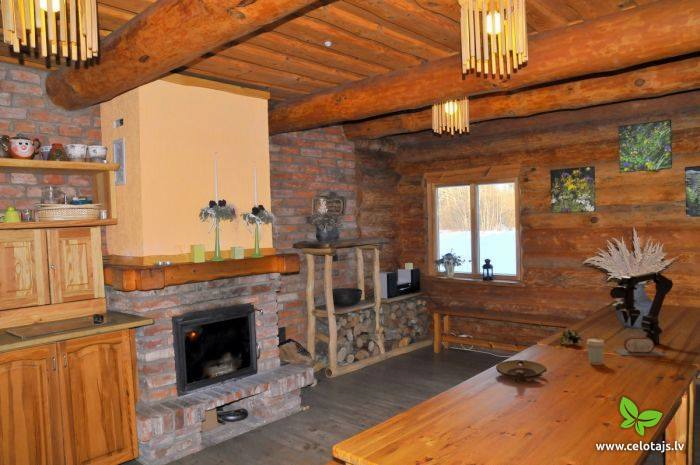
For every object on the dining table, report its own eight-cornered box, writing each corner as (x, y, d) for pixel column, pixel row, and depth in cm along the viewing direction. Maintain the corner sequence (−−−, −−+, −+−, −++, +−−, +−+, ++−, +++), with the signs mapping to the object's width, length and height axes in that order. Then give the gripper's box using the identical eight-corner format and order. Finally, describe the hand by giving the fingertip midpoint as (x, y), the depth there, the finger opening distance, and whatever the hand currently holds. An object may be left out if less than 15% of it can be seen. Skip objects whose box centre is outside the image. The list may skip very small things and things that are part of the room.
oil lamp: (554, 375, 246) (554, 359, 246) (529, 391, 224) (529, 373, 224) (509, 367, 261) (509, 352, 261) (481, 382, 238) (481, 365, 238)
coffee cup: (607, 366, 259) (607, 342, 259) (588, 365, 261) (588, 341, 261) (602, 361, 268) (602, 338, 268) (584, 361, 269) (584, 338, 269)
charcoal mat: (655, 350, 287) (655, 349, 287) (665, 356, 275) (665, 355, 275) (613, 350, 290) (613, 349, 290) (621, 355, 279) (621, 354, 279)
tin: (652, 351, 283) (652, 336, 283) (655, 353, 280) (655, 337, 280) (623, 351, 285) (623, 336, 285) (625, 352, 282) (625, 337, 282)
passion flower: (574, 353, 307) (587, 338, 303) (567, 353, 299) (580, 337, 295) (559, 340, 314) (571, 325, 310) (551, 340, 306) (564, 324, 302)
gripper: (608, 295, 311) (608, 321, 312) (619, 300, 293) (619, 327, 293) (628, 295, 310) (628, 321, 310) (640, 300, 291) (641, 327, 291)
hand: (628, 324), depth 301 cm, fingers open, 9 cm apart
